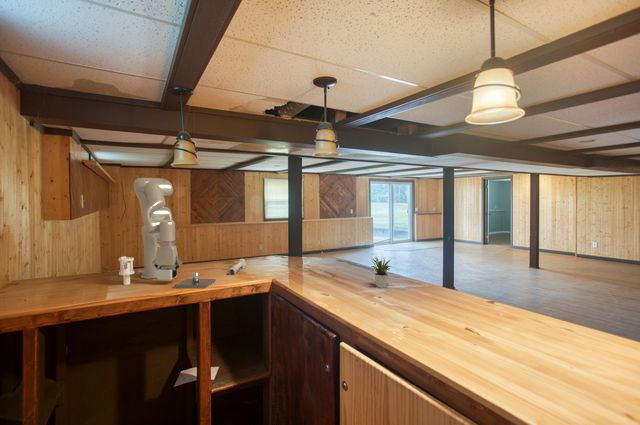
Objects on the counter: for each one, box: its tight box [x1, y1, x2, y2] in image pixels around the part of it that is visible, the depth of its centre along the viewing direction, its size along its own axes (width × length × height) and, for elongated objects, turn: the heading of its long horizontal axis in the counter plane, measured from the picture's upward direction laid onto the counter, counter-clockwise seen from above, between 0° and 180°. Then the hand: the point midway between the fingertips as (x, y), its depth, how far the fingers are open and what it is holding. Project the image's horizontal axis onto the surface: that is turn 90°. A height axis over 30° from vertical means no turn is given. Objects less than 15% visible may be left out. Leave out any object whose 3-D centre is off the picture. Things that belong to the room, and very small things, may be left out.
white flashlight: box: [227, 258, 247, 276], centre depth 202 cm, size 5×7×25 cm
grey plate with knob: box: [173, 271, 217, 289], centre depth 166 cm, size 16×14×6 cm
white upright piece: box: [118, 255, 135, 286], centre depth 169 cm, size 7×7×15 cm
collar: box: [156, 266, 178, 281], centre depth 170 cm, size 7×7×5 cm
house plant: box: [367, 254, 393, 289], centre depth 160 cm, size 14×14×16 cm
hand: (167, 276), depth 170 cm, fingers closed on collar, 7 cm apart
